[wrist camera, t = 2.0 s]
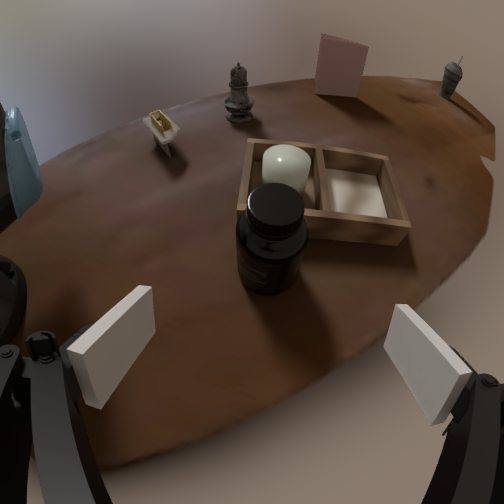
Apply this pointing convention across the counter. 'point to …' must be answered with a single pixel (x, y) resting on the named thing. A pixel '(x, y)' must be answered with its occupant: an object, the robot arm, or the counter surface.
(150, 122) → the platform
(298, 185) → the pale green dome
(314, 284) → the counter surface
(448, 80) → the beverage cup
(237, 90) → the salt shaker
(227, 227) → the counter surface
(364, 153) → the caddy
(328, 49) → the greeting card
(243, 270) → the supplement bottle
